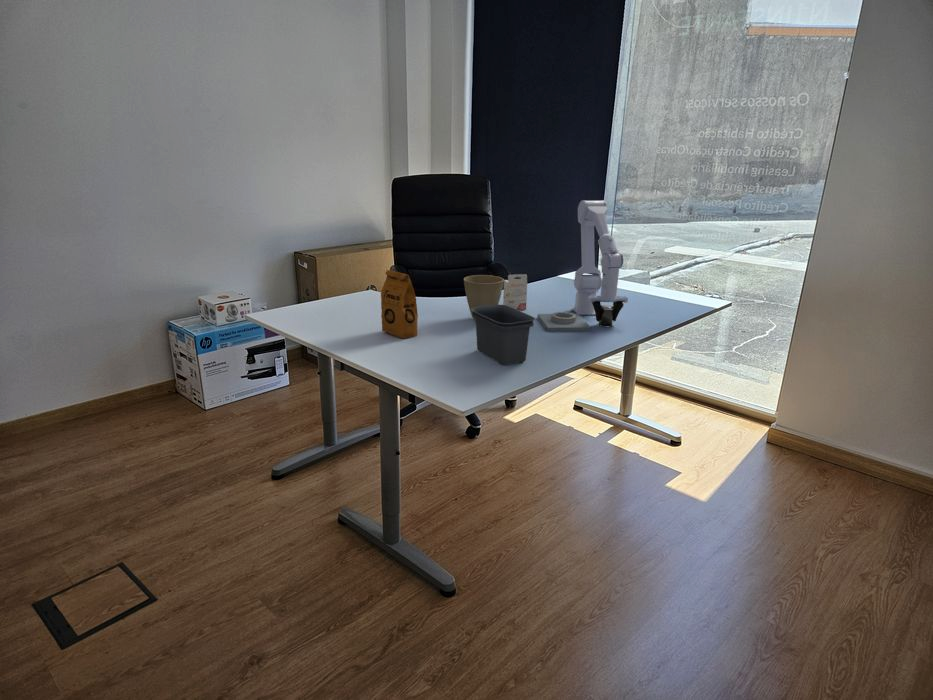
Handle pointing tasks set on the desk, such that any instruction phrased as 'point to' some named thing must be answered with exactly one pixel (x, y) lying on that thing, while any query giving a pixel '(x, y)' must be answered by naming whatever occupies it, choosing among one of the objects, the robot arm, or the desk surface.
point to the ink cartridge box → (515, 292)
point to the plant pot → (483, 290)
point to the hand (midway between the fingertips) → (605, 320)
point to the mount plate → (563, 322)
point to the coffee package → (399, 306)
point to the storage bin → (502, 332)
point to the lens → (606, 315)
